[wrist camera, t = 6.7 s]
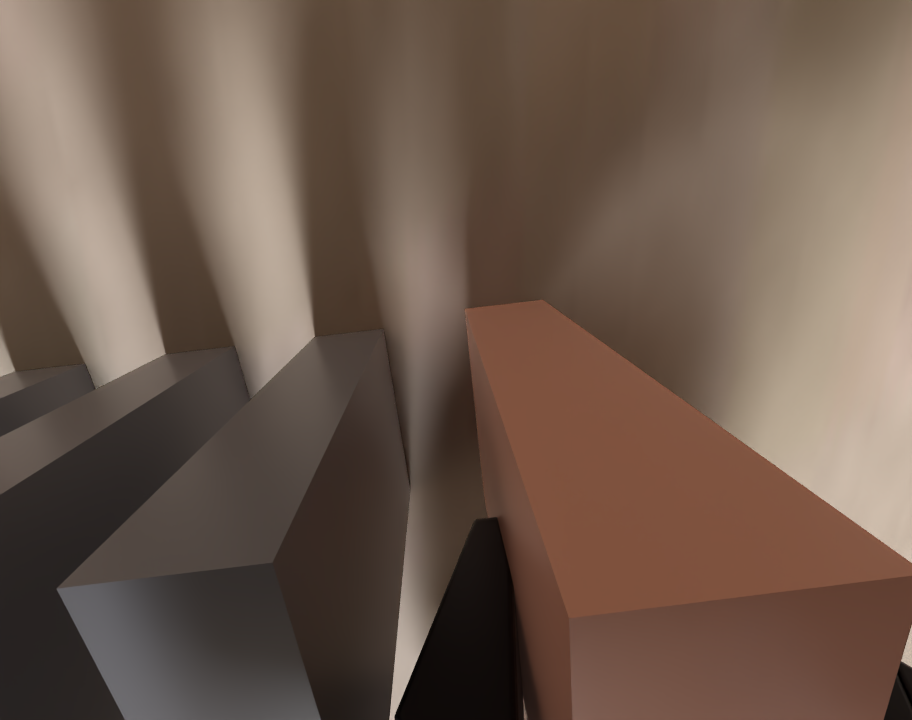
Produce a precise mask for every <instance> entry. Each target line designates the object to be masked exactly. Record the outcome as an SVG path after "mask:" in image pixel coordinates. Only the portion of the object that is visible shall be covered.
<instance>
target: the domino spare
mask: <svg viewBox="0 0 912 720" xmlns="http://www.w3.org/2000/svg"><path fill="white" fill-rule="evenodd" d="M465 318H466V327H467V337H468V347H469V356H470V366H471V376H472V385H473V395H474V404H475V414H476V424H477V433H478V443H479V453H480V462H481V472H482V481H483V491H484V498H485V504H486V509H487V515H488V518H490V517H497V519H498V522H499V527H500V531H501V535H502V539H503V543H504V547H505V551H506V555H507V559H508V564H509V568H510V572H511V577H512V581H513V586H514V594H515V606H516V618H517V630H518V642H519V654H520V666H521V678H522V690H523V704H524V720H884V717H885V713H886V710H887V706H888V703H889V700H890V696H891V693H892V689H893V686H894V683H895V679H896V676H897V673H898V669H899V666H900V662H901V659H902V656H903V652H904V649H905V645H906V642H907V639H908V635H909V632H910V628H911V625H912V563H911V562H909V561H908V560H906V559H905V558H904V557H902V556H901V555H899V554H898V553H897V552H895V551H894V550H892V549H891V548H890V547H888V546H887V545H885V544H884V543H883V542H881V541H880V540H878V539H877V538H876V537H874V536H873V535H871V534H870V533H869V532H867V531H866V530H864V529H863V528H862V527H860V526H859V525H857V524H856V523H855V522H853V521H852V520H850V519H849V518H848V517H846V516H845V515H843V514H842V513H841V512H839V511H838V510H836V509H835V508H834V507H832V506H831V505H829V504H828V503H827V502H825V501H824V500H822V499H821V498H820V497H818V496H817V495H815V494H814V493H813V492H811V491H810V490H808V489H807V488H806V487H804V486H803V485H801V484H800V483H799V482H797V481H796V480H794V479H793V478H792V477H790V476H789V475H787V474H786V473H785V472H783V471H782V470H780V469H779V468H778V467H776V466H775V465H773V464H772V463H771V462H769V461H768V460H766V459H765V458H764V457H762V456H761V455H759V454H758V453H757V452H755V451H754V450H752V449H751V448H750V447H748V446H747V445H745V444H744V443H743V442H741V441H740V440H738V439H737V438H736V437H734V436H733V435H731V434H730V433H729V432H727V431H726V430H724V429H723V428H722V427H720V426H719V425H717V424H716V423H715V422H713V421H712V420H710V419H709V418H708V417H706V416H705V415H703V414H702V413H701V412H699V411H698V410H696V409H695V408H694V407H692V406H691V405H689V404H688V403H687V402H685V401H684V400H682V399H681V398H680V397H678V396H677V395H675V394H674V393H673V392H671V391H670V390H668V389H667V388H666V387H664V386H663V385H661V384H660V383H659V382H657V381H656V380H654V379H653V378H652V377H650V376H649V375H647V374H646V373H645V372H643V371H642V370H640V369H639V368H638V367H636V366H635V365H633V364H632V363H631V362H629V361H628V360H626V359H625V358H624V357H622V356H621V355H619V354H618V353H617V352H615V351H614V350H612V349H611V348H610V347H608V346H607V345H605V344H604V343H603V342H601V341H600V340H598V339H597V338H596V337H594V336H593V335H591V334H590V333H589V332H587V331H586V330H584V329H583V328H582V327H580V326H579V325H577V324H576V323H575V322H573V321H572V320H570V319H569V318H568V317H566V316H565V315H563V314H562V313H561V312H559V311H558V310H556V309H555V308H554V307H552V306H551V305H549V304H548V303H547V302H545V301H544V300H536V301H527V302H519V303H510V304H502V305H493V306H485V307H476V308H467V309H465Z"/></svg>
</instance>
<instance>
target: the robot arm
mask: <svg viewBox="0 0 912 720" xmlns="http://www.w3.org/2000/svg"><path fill="white" fill-rule="evenodd" d="M395 720H524V704H523V690H522V678H521V666H520V654H519V642H518V630H517V618H516V606H515V594H514V586H513V581H512V577H511V572H510V568H509V564H508V559H507V555H506V551H505V547H504V543H503V539H502V535H501V531H500V527H499V522H498V519H497V517H490V518H482V519H477V520H475V521H474V523H473V525H472V527H471V530H470V532H469V535H468V537H467V540H466V542H465V545H464V547H463V549H462V552H461V554H460V557H459V559H458V562H457V564H456V567H455V569H454V572H453V574H452V576H451V579H450V581H449V584H448V586H447V589H446V591H445V594H444V596H443V599H442V601H441V603H440V606H439V608H438V611H437V613H436V616H435V618H434V621H433V623H432V626H431V628H430V630H429V633H428V635H427V638H426V640H425V643H424V645H423V648H422V650H421V653H420V655H419V657H418V660H417V662H416V665H415V667H414V670H413V672H412V675H411V677H410V680H409V682H408V684H407V687H406V689H405V692H404V694H403V697H402V699H401V702H400V704H399V707H398V709H397V711H396V714H395ZM884 720H912V667H910V666H908V665H907V664H905V663H903V662H902V661H901V662H900V666H899V669H898V673H897V676H896V679H895V683H894V686H893V689H892V693H891V696H890V700H889V703H888V706H887V710H886V713H885V717H884Z"/></svg>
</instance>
